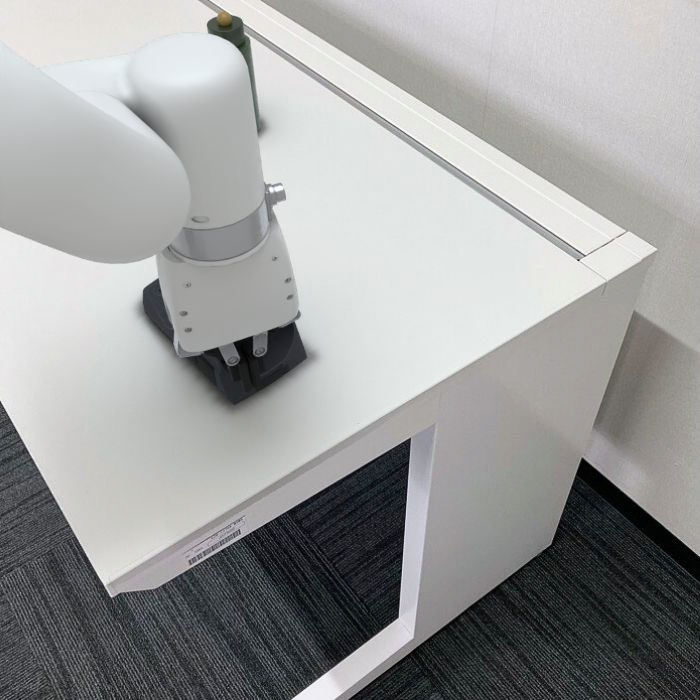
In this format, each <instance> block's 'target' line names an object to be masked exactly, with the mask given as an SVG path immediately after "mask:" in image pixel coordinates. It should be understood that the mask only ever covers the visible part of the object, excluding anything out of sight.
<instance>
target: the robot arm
mask: <svg viewBox="0 0 700 700" xmlns="http://www.w3.org/2000/svg"><path fill="white" fill-rule="evenodd" d="M286 200H287V195H286V190H285V188H284V185H283V184H282V182H277V183H274V184H272V183H267V184H266V182H265V179H264V171H263V164H262V157H261V149H260V143H259V134H258V133H257V126H256V119H255V112H254V104H253V97H252V90H251V82H250V76H249V71H248V66H247V64H246V61H245V59H244V57H243V55H242V54H241V52H240V51H239V50H238V49H237V48H236V47H235V46H234V45H233V44H232V43H231V42H229V41H227V40H225V39H223V38H221V37H219V36H216V35H212V34H208V32H200V31H199V32H196V31H191V32H190V31H189V32H188V31H187V32H177V33H173V34H168V35H163V36H161V37H158V38H156V39H152V40H150V41H149V42H146V43H145V44H144V45H143V46H141V47H140V48H138V49H137V50H135V51H132V52H127V53H122V54H116V55H111V56H104V57H96V58H90V59H89V58H88V59H83V60H82V59H81V60H74V61H66V62H58V63H54V64H53V63H52V64H48V65H43V66H39V67H37V66H35V65H34V64H33V63H31V62H30V61H28V60H27V59H26V58H24V57H23V56H21V55H20V54H19V53H18V52H16V51H15V50H13V49H12V48H10V47H9V46H8V45H7V44H5V42H3V41H2V40H0V228H1V229H3V230H5V231H8V232H10V233H12V234H15V235H17V236H20V237H23V238H25V239H28V240H31V241H33V242H35V243H38V244H40V245H43V246H46V247H48V248H52V249H54V250H57V251H59V252H62V253H65V254H67V255H69V256H73V257H76V258H78V259H81V260H85V261H90V262H93V263H100V264H108V265H122V264H125V265H126V264H131V263H138V262H141V261H143V260H147V259H150V258H152V257H154V256H155V263H156V270H157V276H158V277H157V278H159V282H160V287H161V291H162V296H163V300H164V304H165V308H166V311H167V315H168V318H169V321H170V322H171V324H172V325H173V328H174V342H173V347H174V350H175V352H176V355H177V357H179V358H188V357H190V356H196V355H201V353H205V354H206V355H209V356H212V357H215V358H219V359H222V360H225V361H226V364H227V368H228V372H229V375H230V377H231V379H232V382H233V383H234V382H237V381H240V383H241V385H242V388H243V390H244V392H245V393H248V392H250V391H251V390H252V385H253V388H256V389H259V388H262V383H261V377H260V373H263V372H265V365H264V359H263V355H264V354H265V353H266V351H267V344H268V342H269V341H270V340H271V339H272V338H273V336H274V335H275V334H276V333H277V332H278V330H279V328H280V327H284V326H286V325H288V324H290V323H292V322H294V321H295V322H296V321H298V320H299V319H300V318H301V317H302V313H301V311H300V300H299V299H300V298H299V291H298V287H297V282H296V278H295V273H294V267H293V264H292V261H291V257H290V253H289V248H288V246H287V242H286V240H285V235H284V233H283V231H282V227H281V225H280V222H279V221H278V218H277V215H276V213H275V211H274V209H273V207H274V206H277V205H278V204H279V203H282V202H285V201H286ZM238 340H239V344H238V342H237V341H238ZM239 345H240V346H239ZM251 383H252V384H251Z"/></svg>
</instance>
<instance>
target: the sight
mask: <svg viewBox="0 0 700 700" xmlns="http://www.w3.org/2000/svg"><path fill="white" fill-rule="evenodd" d="M142 306H143V311H144V313H145V315H147V316H148V318H149V319H150V320H151V321H152V322H153V323H154V324H155V325H156V326H157V327H158V328H159V329H160V330H161V331H162V332H163V333H164V334H165V336H166V337H168V338H169V339H170V340H171V342H173V343H174V328H173V325H172V324H171V322H170V321H169V318H168V315H167V311H166V308H165V304H164V300H163V296H162V291H161V287H160V282H159V277H157V278H156V279H155V280H153V281H152V282H149V283H148V285H146V286H145V287H144V288H143V289H142ZM237 342H238V344H239V340H238V341H237ZM239 346H240V345H239ZM187 358H188V359H189V360H190V361H191V362H192V363H193V364H194V365H195V366H196V367H197V368H198V369H199V370H200V371H201V373H202V374H204V375H205V377H207V378H208V379H209V381H211V383H213V385H214V386H215V387H216V388H217V389H218V390H219V391H220V392H221V393H222V394H224V396H225V397H226V398H227V399H228V400H229V401H230V402H231V403H232V404H233V405H236V404H238V403H240V402H241V401H243V400H245V399H247V398H249V397H250V396H252V395H254V394H255V393H257V392H260V391H261V390H263V389H264V388H266V387H268V386H269V385H271V384H272V383H274V382H276V381H277V380H279V379H280V378H282V377H283V376H284V375H286V374H287V373H289V372H290V371H291V370H292V369H294V368H296V367H297V366H298V365H299V364H300V363H302V362H304V361H305V360H306V359H308V355H307V352H306V349H305V346H304V343H303V341H302V338H301V335H300V332H299V329H298V326H297V323H296V321H294V322H292V323H290V324H288V325H286V326H284V327H280V328H279V330H278V332H277V333H276V334H275V335H274V336H273V338H272V339H271V340H270V341H269V342H268V344H267V351H266V353H265V354H264V355H263V359H264V365H265V372H263V373H260V377H261V383H262V388H259V389H256V388H253V385H252V390H251V391H250V392H248V393H245V392H244V390H243V388H242V385H241V383H240V381H237V382H234V383H233V382H232V379H231V377H230V375H229V372H228V368H227V364H226V361H225V360H222V359H219V358H215V357H212V356H209V355H206V354H205V353H201V355H196V356H190V357H187ZM251 384H252V383H251Z"/></svg>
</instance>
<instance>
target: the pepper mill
mask: <svg viewBox="0 0 700 700" xmlns="http://www.w3.org/2000/svg"><path fill="white" fill-rule="evenodd" d="M206 30H207V34H212V35H216V36H219V37H221V38H223V39H225V40H227V41H229V42H231V43H232V44H233V45H234V46H235V47H236V48H237V49H238V50H239V51H240V52H241V54H242V55H243V57H244V59H245V61H246V64H247V66H248V71H249V76H250V82H251V90H252V97H253V104H254V112H255V119H256V126H257V134H258V133H259V132H260V131H261V127H262V123H261V116H260V107H259V99H258V92H257V83H256V75H255V66H254V59H253V52H252V51H253V50H252V43H251V39H250V37H249V36H248V35H247V34H246V33H245V26H244V21H243V19H242V17H239V16H237V15H232V14H230V13H229V12H227V11H219V13H218V14H217V15H216V16H214V17H212V18H210V19H209V20H208V21H207V23H206Z"/></svg>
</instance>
